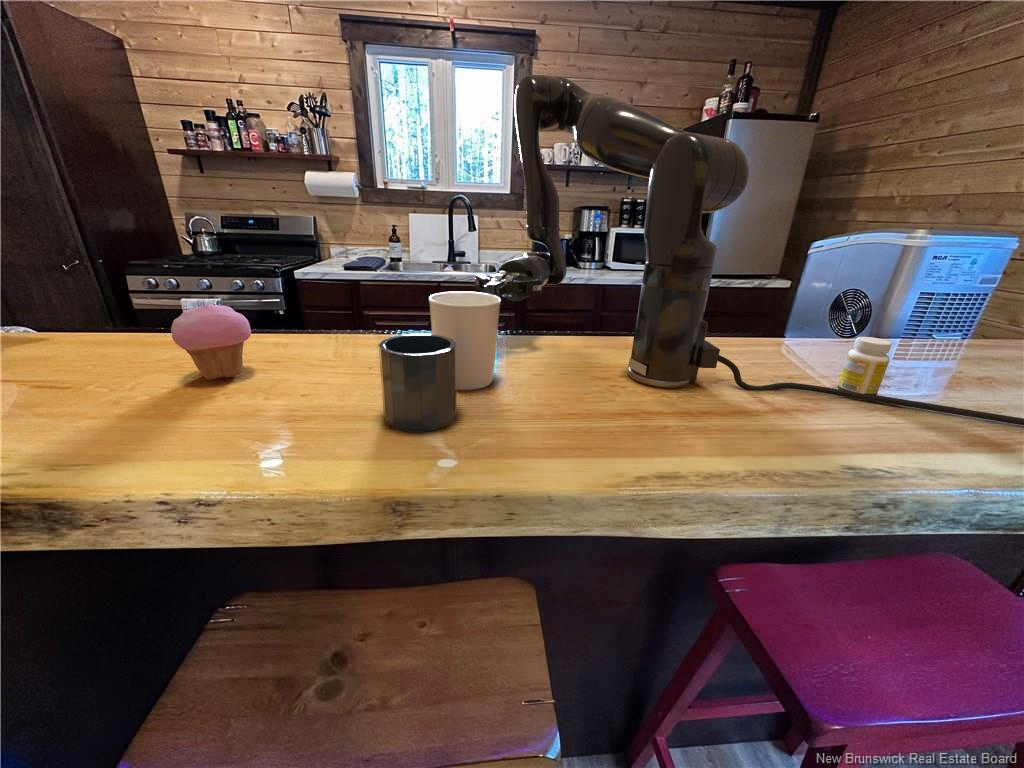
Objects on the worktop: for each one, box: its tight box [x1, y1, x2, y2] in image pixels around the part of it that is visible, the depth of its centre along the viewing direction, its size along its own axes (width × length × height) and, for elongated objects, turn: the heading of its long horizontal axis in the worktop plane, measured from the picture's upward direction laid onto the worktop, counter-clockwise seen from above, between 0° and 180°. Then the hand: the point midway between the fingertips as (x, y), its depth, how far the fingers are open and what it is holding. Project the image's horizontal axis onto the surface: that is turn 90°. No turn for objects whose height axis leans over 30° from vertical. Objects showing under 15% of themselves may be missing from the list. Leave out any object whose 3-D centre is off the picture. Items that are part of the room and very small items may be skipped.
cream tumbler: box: [428, 291, 502, 391], centre depth 62 cm, size 10×10×12 cm
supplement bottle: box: [836, 336, 893, 401], centre depth 63 cm, size 5×5×8 cm
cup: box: [378, 333, 458, 433], centre depth 51 cm, size 8×8×9 cm
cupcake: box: [170, 304, 252, 381], centre depth 59 cm, size 9×9×10 cm
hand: (490, 291), depth 69 cm, fingers closed
